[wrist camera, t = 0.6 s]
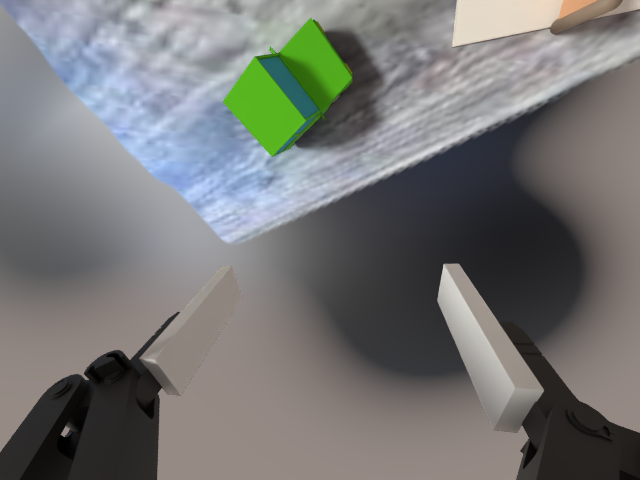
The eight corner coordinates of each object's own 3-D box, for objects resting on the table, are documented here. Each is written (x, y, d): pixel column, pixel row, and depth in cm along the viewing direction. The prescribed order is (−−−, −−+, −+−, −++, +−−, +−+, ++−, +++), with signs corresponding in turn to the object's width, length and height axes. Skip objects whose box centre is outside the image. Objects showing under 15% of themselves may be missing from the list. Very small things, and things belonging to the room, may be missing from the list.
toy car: (360, 88, 32) (361, 78, 23) (296, 152, 38) (277, 163, 29) (313, 19, 29) (294, -22, 21) (251, 99, 35) (215, 94, 26)
